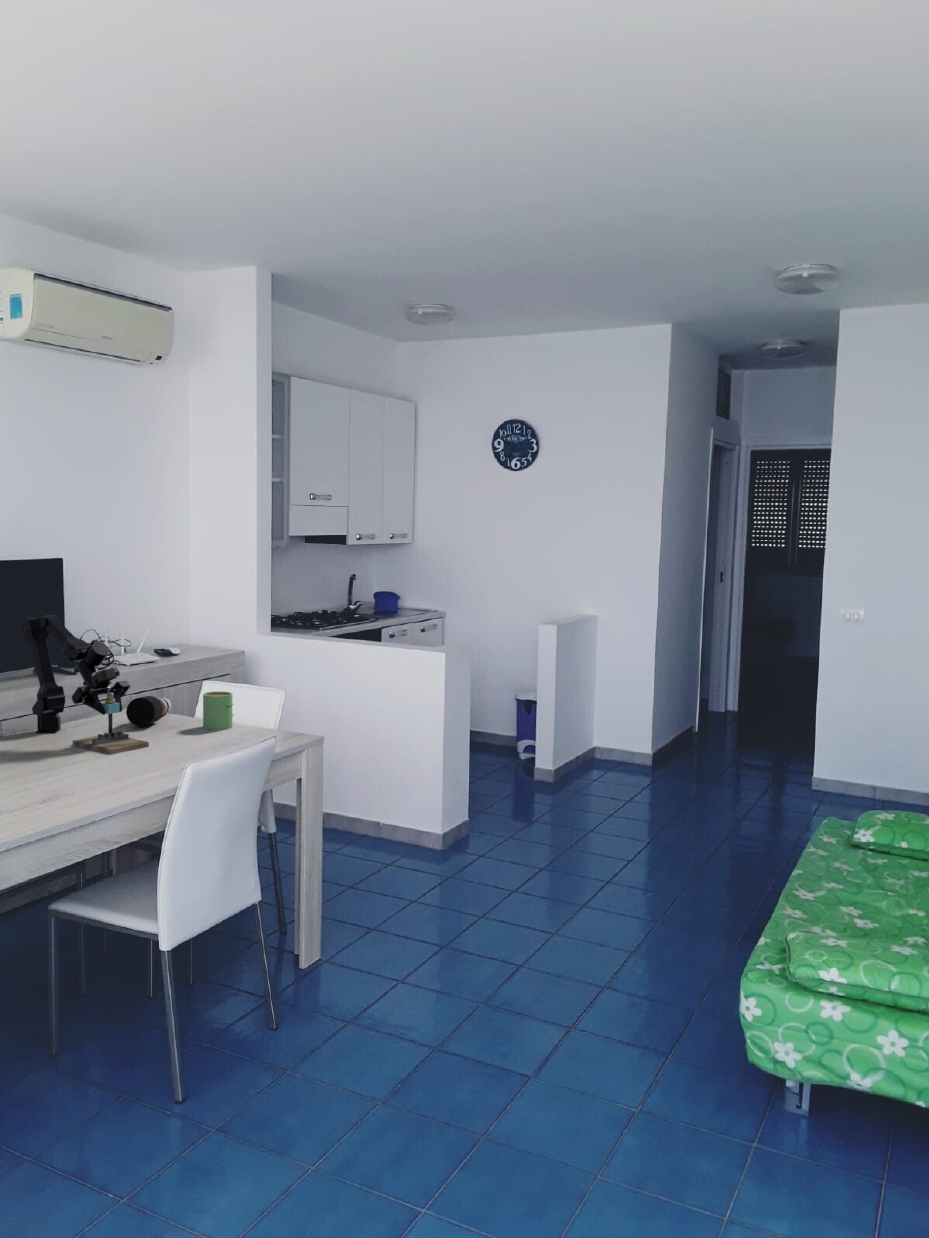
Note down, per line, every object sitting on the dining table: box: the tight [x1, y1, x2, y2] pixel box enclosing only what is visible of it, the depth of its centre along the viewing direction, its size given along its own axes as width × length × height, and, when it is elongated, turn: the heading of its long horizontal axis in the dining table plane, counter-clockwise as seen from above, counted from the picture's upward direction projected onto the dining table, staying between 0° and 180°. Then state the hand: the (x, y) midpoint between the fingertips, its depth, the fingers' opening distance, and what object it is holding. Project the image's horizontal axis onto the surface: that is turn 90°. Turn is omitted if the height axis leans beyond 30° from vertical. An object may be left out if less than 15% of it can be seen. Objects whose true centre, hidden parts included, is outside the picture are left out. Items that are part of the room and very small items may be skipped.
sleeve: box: [101, 702, 121, 715], centre depth 320 cm, size 4×4×3 cm
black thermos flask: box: [125, 695, 172, 727], centre depth 364 cm, size 10×34×10 cm, turn 178°
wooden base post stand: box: [72, 693, 150, 755], centre depth 320 cm, size 20×14×17 cm
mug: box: [202, 690, 234, 731], centre depth 354 cm, size 13×10×12 cm
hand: (113, 712), depth 319 cm, fingers open, 6 cm apart
